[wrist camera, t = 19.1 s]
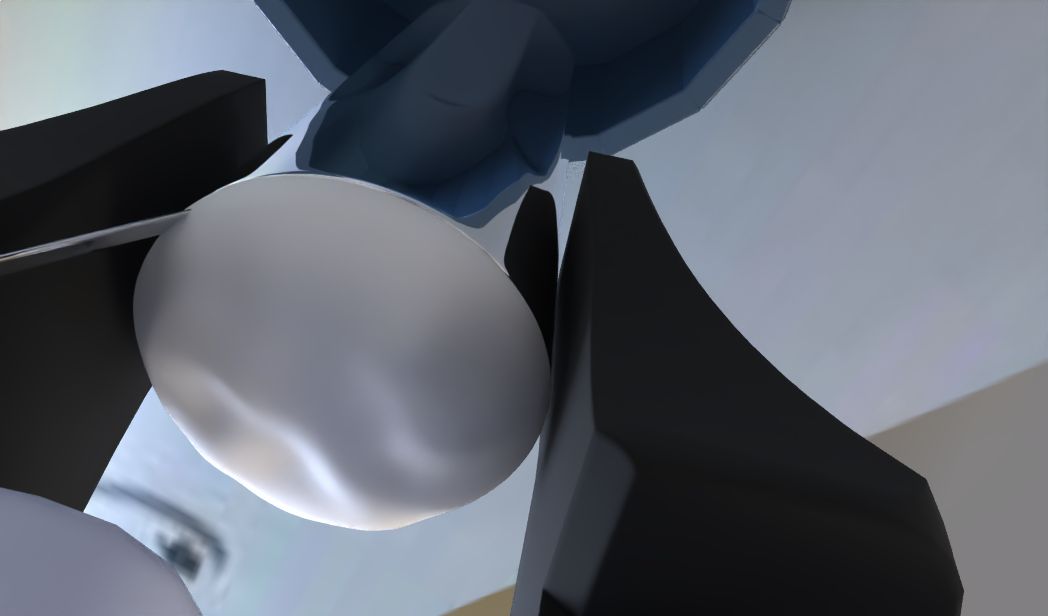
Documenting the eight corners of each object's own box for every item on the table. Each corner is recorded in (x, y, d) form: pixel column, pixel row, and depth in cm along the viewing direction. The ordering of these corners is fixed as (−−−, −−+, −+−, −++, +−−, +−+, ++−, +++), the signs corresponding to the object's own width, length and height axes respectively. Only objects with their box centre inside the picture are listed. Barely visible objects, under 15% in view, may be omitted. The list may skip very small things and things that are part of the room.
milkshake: (479, -159, 13) (132, 115, 5) (663, 112, 15) (618, 593, 7) (291, 10, 15) (-153, 380, 7) (475, 224, 17) (285, 687, 9)
